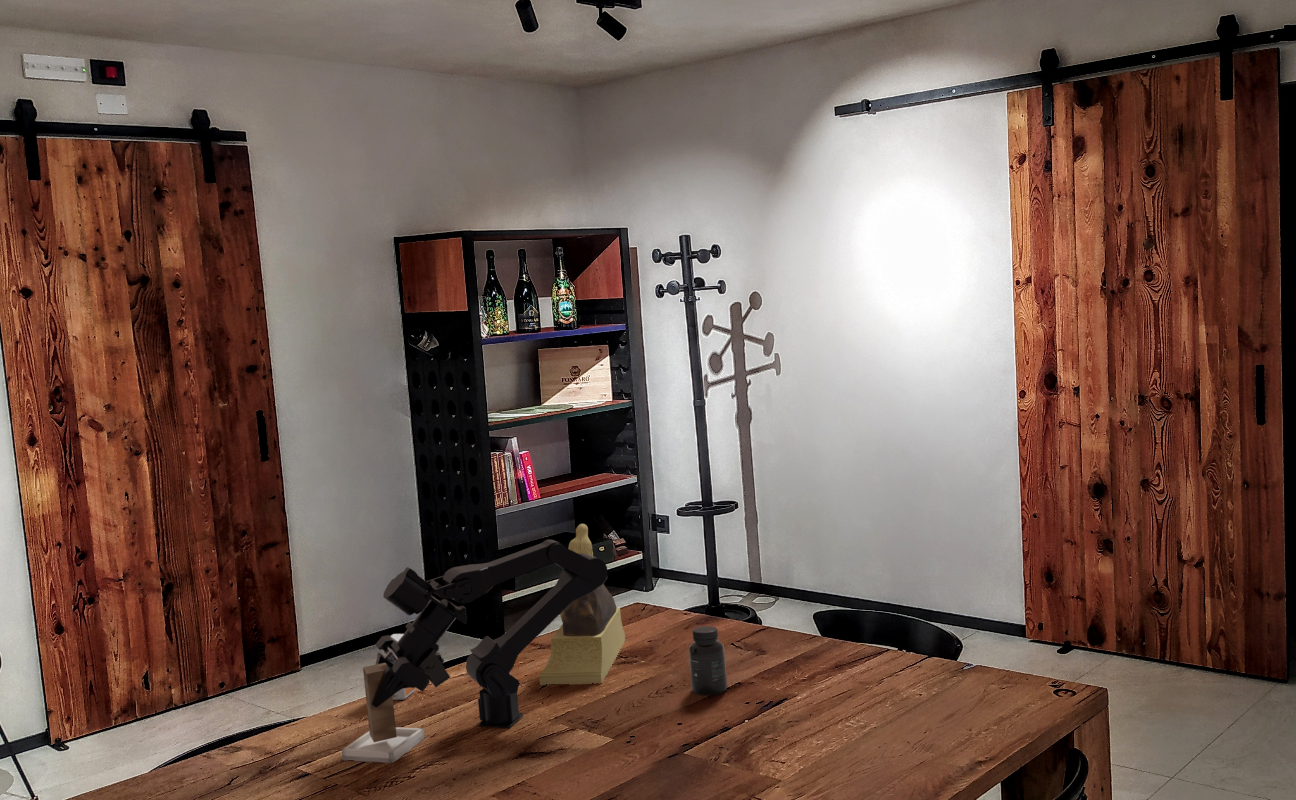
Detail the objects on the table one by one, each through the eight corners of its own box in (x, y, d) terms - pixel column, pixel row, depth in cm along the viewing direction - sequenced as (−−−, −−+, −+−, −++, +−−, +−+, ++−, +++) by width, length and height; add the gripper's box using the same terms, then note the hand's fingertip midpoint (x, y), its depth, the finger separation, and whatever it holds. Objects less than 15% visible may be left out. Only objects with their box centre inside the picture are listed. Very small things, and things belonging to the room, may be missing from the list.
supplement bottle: (685, 689, 212) (680, 629, 211) (714, 681, 216) (709, 622, 215) (704, 698, 206) (699, 636, 205) (734, 690, 210) (729, 629, 209)
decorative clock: (570, 644, 250) (559, 514, 248) (625, 642, 248) (614, 511, 246) (539, 685, 222) (526, 540, 220) (601, 684, 220) (589, 537, 218)
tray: (424, 738, 198) (423, 728, 197) (392, 762, 187) (391, 752, 187) (376, 735, 201) (375, 726, 201) (342, 760, 190) (341, 750, 190)
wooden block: (392, 729, 197) (385, 662, 195) (396, 737, 193) (389, 669, 192) (369, 734, 195) (362, 667, 194) (373, 742, 192) (366, 673, 190)
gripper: (475, 668, 191) (418, 743, 187) (448, 639, 208) (396, 708, 204) (426, 633, 187) (367, 710, 183) (403, 607, 204) (349, 676, 200)
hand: (371, 701), depth 193 cm, fingers closed on wooden block, 4 cm apart
